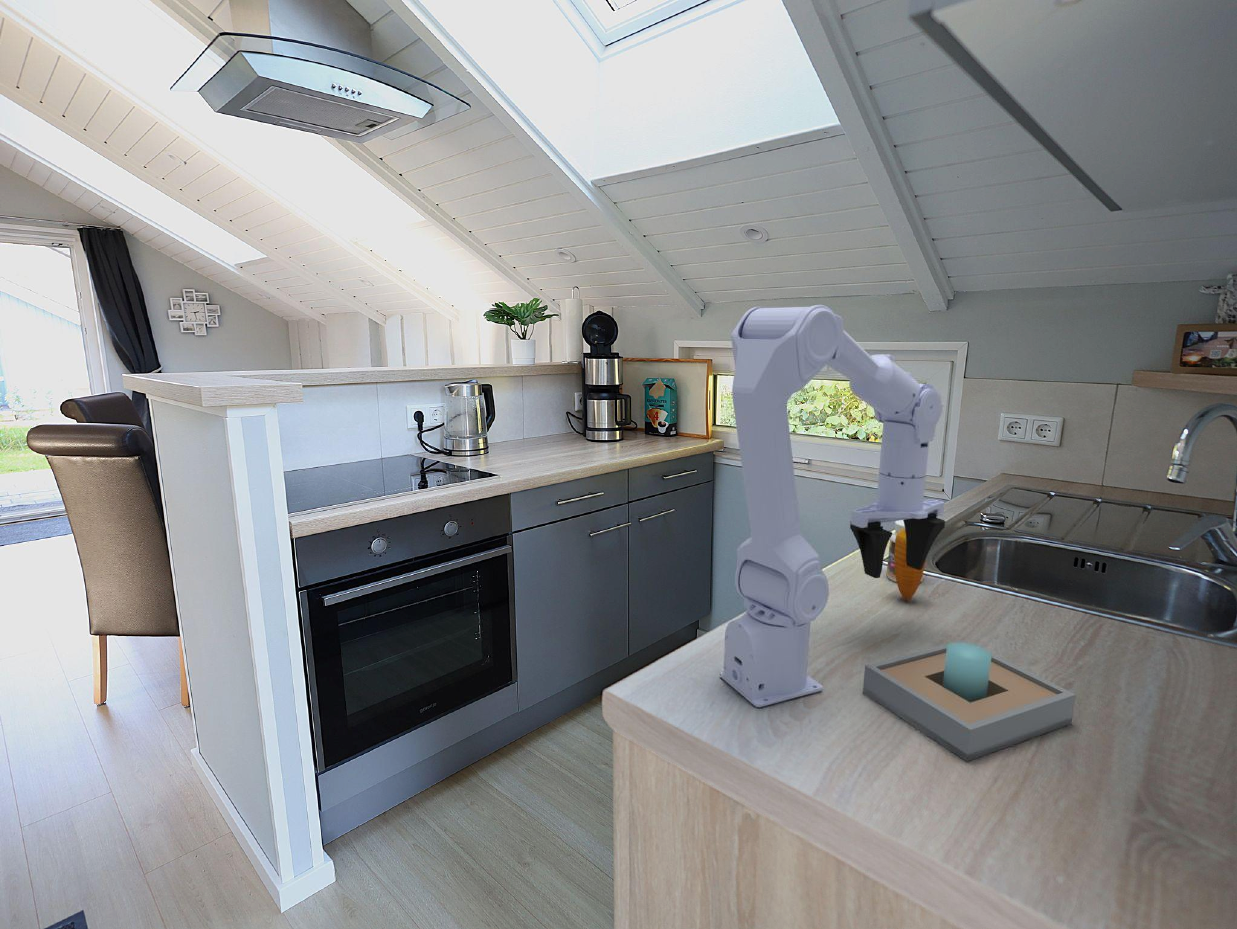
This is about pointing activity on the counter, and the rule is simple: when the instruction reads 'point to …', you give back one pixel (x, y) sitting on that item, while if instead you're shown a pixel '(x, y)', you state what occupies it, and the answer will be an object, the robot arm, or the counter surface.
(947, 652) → the teal peg
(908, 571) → the carrot
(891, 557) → the pill bottle
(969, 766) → the counter surface
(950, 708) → the bore box
